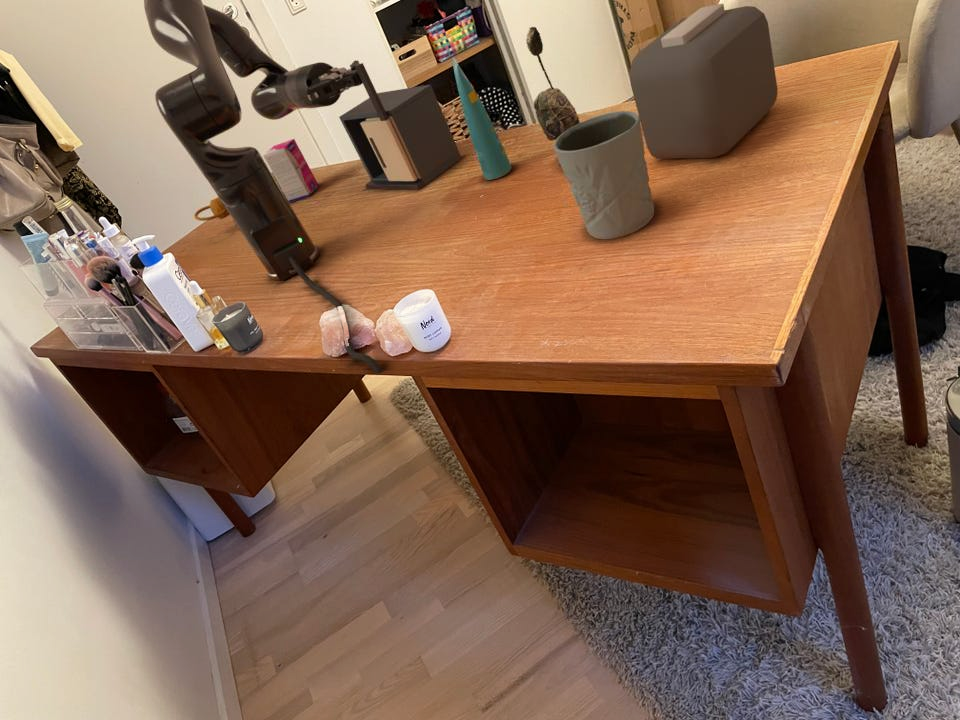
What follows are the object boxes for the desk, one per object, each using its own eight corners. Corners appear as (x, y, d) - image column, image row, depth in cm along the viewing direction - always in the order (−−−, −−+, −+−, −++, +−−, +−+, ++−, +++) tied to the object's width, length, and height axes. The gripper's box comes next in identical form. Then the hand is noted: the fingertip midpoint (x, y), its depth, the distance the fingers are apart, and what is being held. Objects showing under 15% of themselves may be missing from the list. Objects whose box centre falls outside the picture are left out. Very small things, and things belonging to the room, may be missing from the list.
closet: (418, 190, 125) (383, 115, 117) (366, 188, 138) (332, 121, 130) (461, 158, 130) (430, 84, 122) (407, 159, 143) (376, 93, 135)
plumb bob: (283, 188, 167) (194, 233, 153) (271, 152, 161) (178, 196, 148) (305, 195, 162) (216, 242, 148) (294, 158, 156) (200, 204, 142)
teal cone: (516, 173, 112) (472, 56, 102) (490, 185, 113) (443, 71, 102) (506, 161, 119) (463, 51, 108) (480, 173, 119) (435, 64, 109)
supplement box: (311, 196, 150) (283, 148, 144) (289, 203, 152) (261, 156, 146) (320, 184, 154) (294, 137, 148) (299, 192, 156) (272, 145, 150)
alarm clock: (713, 110, 101) (691, 1, 93) (788, 105, 93) (771, -16, 85) (652, 166, 94) (622, 53, 86) (727, 165, 86) (702, 41, 78)
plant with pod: (539, 179, 106) (493, 51, 96) (571, 145, 113) (531, 21, 102) (585, 174, 101) (541, 37, 91) (615, 138, 108) (578, 6, 97)
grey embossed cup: (567, 240, 87) (536, 153, 80) (610, 198, 92) (584, 113, 85) (635, 244, 80) (606, 149, 73) (678, 198, 84) (655, 105, 78)
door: (413, 181, 125) (358, 65, 113) (388, 181, 131) (333, 71, 120) (417, 179, 125) (362, 62, 114) (391, 179, 132) (337, 68, 120)
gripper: (274, 83, 124) (320, 72, 111) (329, 51, 130) (378, 38, 117) (296, 122, 128) (342, 116, 115) (348, 89, 134) (398, 81, 121)
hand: (360, 77), depth 116 cm, fingers closed
